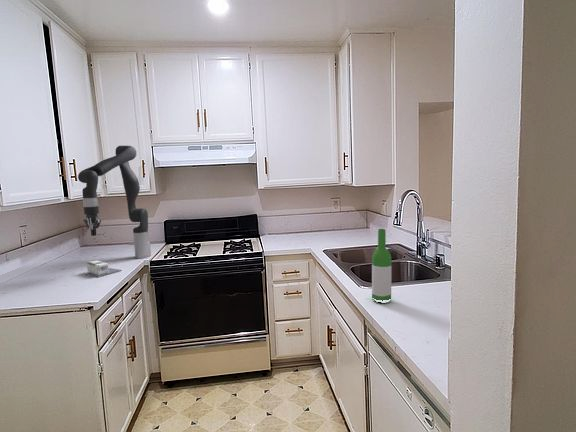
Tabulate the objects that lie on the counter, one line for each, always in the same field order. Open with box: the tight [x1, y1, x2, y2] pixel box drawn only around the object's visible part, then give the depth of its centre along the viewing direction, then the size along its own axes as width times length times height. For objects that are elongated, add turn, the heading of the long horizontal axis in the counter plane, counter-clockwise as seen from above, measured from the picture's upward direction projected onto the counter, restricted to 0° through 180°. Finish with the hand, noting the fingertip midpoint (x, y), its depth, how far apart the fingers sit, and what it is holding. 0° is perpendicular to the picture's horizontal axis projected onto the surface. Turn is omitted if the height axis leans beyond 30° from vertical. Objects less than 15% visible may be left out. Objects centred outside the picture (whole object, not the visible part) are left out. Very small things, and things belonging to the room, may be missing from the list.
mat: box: [84, 267, 122, 278], centre depth 198 cm, size 14×12×1 cm
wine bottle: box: [371, 228, 392, 301], centre depth 141 cm, size 8×8×30 cm
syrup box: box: [86, 260, 109, 275], centre depth 197 cm, size 6×6×14 cm
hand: (93, 235), depth 199 cm, fingers closed
